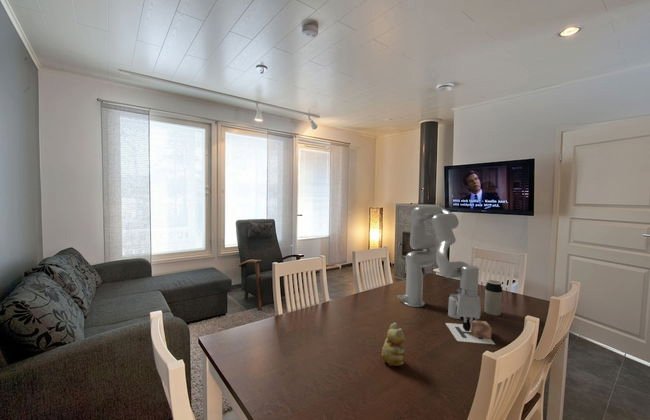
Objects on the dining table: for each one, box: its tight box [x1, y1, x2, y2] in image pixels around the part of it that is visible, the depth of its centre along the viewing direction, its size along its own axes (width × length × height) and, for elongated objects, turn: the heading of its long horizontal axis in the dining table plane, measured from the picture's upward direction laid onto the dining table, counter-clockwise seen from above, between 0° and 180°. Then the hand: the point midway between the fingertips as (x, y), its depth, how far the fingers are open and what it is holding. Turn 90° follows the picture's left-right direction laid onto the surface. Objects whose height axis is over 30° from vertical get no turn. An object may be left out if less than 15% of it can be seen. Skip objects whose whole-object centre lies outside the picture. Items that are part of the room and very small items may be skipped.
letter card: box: [445, 322, 496, 345], centre depth 133 cm, size 16×18×1 cm
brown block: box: [470, 319, 493, 340], centre depth 132 cm, size 7×7×5 cm
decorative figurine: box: [381, 322, 406, 367], centre depth 108 cm, size 10×8×15 cm
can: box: [447, 293, 462, 320], centre depth 150 cm, size 8×8×12 cm
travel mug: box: [483, 279, 503, 317], centre depth 157 cm, size 8×8×18 cm
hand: (466, 329), depth 133 cm, fingers closed
